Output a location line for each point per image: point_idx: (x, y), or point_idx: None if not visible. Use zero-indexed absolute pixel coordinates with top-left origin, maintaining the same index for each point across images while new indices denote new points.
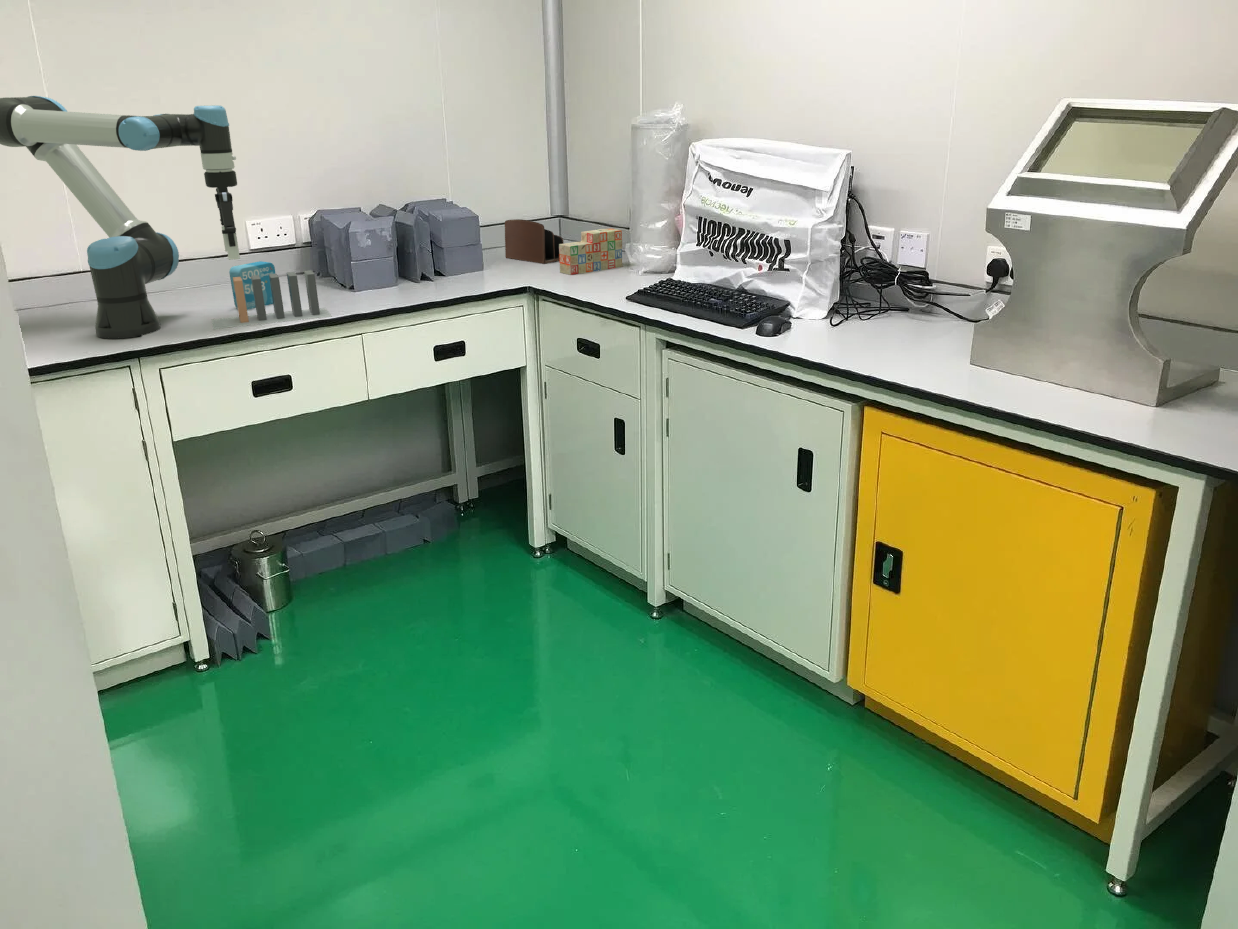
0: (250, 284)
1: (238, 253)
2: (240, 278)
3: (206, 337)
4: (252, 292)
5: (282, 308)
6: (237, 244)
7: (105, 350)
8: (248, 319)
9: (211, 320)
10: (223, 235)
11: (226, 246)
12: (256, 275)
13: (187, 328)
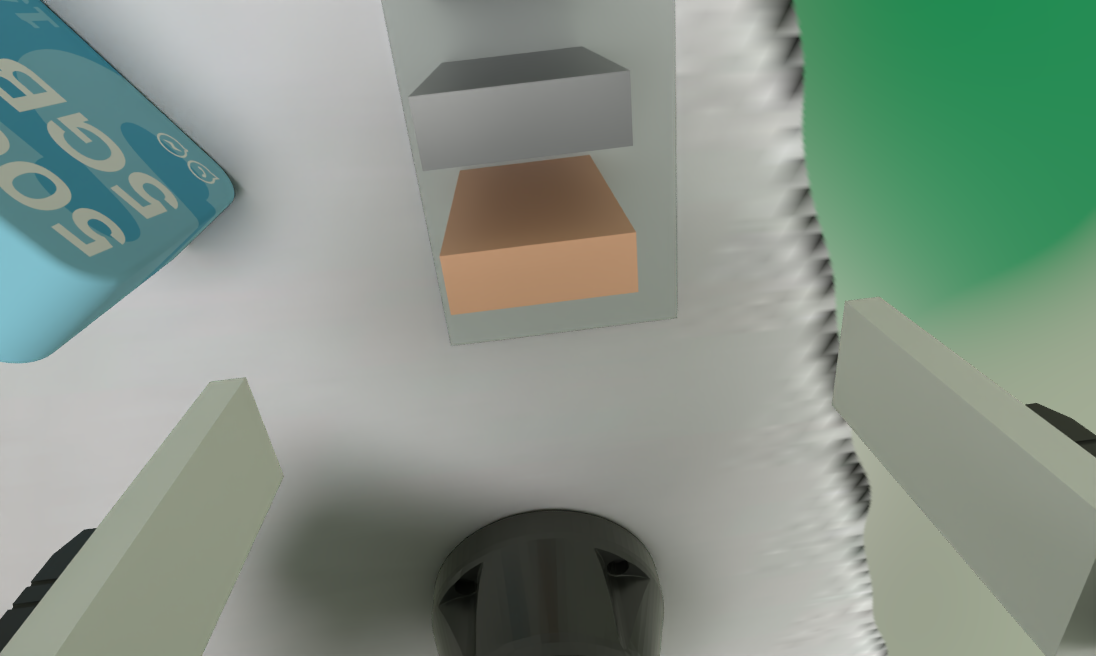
0: (101, 176)
1: (918, 332)
2: (531, 251)
3: (798, 330)
4: (130, 156)
5: None
6: (1002, 391)
7: (800, 605)
8: (522, 159)
9: (476, 342)
10: (206, 635)
11: (258, 501)
12: (426, 117)
13: (574, 420)
